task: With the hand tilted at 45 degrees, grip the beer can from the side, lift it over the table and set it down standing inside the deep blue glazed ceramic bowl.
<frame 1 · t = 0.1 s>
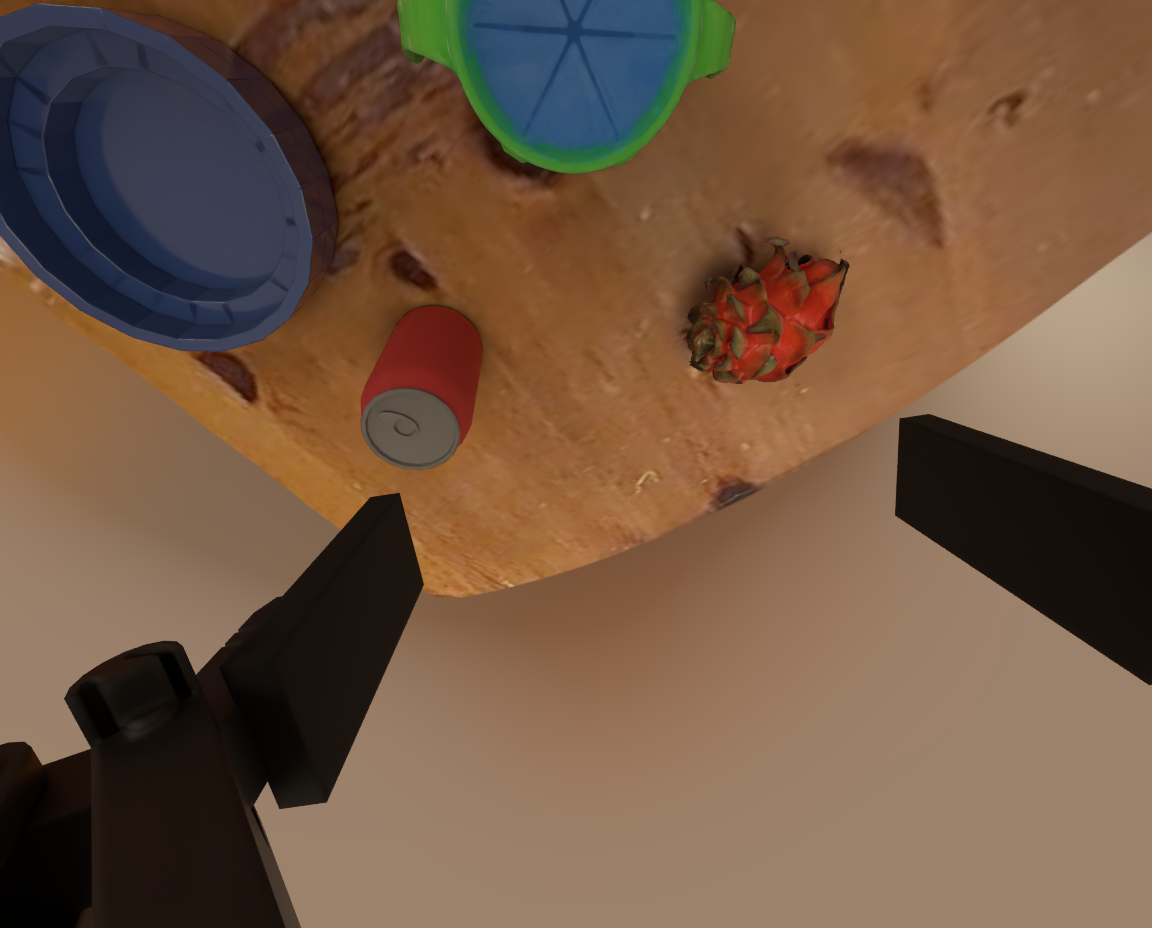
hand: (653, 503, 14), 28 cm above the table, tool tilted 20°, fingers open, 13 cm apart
snack cup: (562, 40, 30), on the table
bowl: (197, 188, 33), on the table
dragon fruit: (747, 297, 40), on the table
beer can: (439, 344, 40), on the table
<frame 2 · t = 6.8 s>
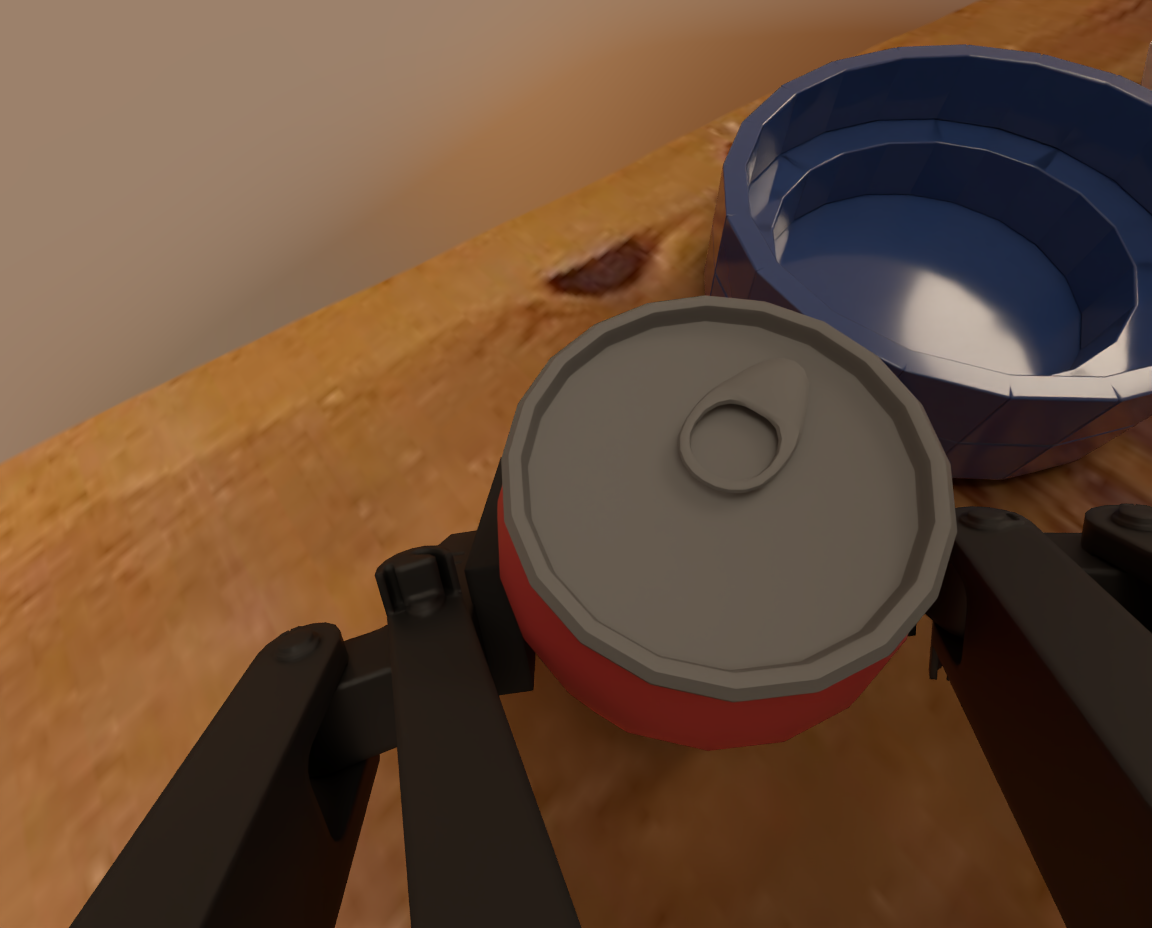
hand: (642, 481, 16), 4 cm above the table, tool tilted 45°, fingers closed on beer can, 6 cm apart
bowl: (905, 304, 22), on the table
beer can: (658, 627, 18), on the table, touching gripper
when the fingers open (4 cm above the table, at t = 16.1 s): beer can stays where it is, resting on bowl.
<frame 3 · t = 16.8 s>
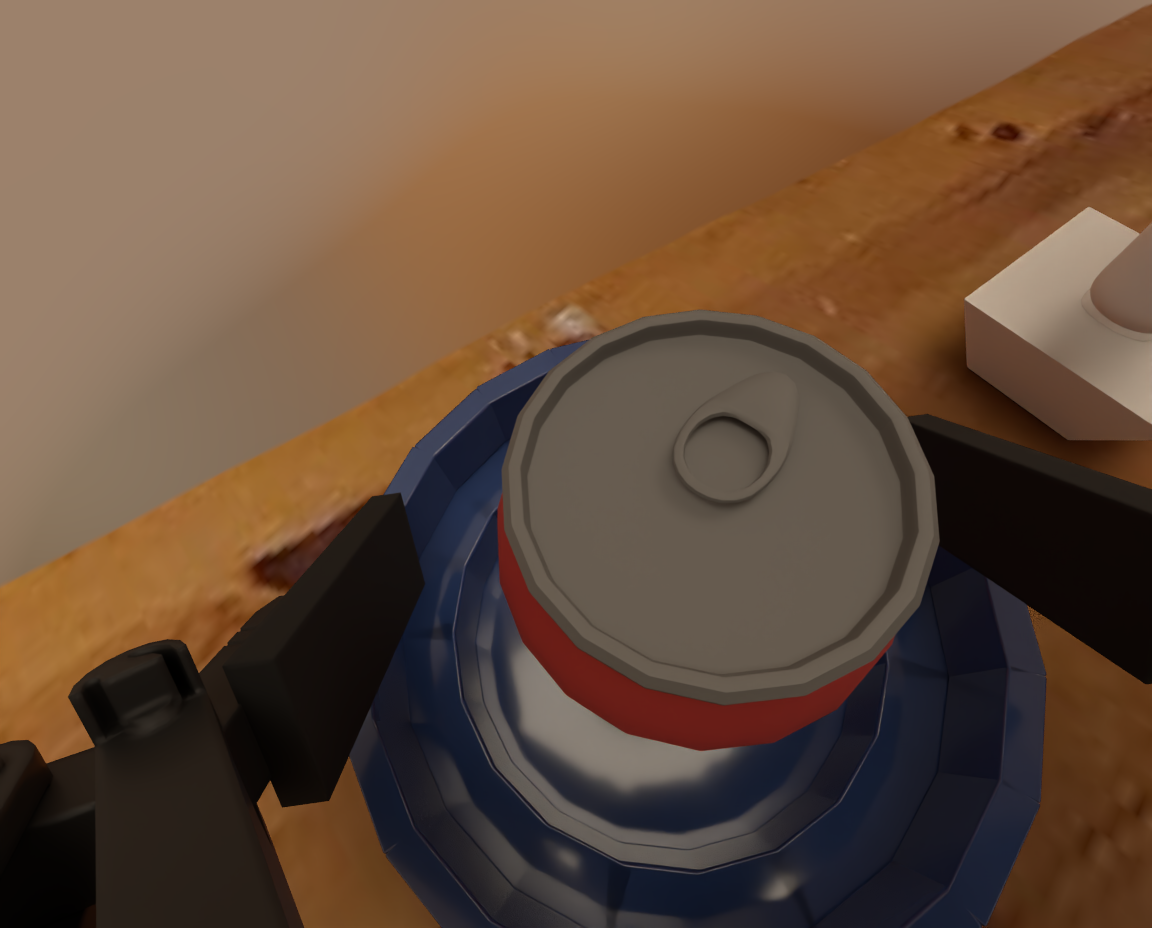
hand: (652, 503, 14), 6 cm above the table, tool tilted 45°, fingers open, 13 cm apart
bowl: (656, 629, 18), on the table
figurine: (1046, 376, 22), on the table
beer can: (655, 628, 18), resting on bowl
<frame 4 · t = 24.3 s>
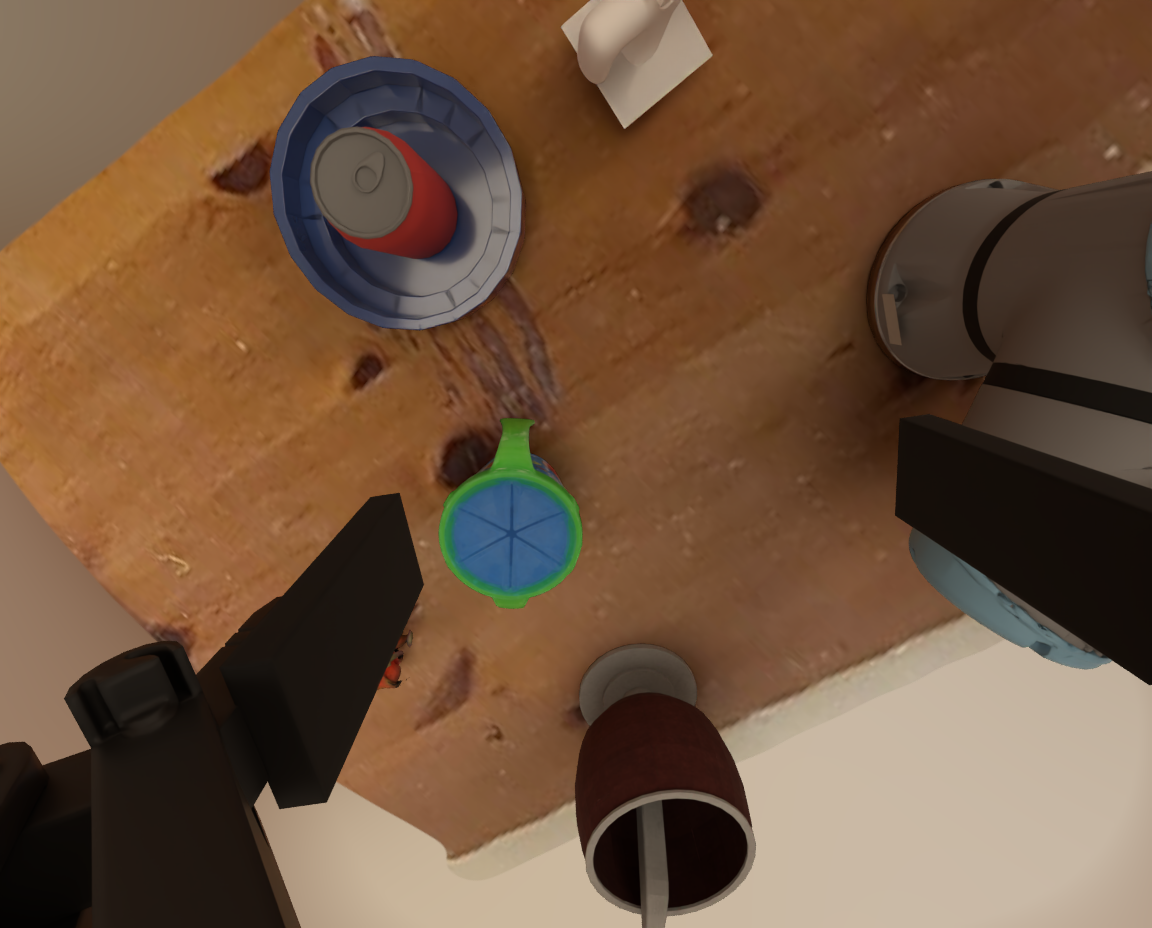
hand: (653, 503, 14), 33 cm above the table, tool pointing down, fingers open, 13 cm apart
snack cup: (519, 488, 49), on the table
mate gourd: (635, 697, 57), on the table
bowl: (417, 213, 41), on the table
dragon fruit: (369, 618, 53), on the table
figurine: (629, 64, 39), on the table
beer can: (416, 213, 41), resting on bowl
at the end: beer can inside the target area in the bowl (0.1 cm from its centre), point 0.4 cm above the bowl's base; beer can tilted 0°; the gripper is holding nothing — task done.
